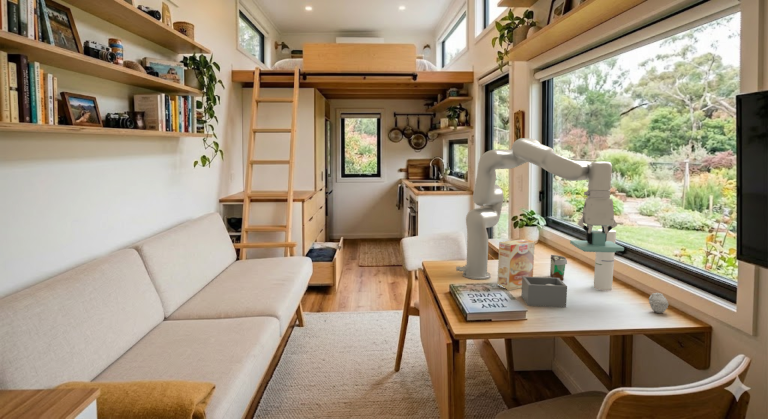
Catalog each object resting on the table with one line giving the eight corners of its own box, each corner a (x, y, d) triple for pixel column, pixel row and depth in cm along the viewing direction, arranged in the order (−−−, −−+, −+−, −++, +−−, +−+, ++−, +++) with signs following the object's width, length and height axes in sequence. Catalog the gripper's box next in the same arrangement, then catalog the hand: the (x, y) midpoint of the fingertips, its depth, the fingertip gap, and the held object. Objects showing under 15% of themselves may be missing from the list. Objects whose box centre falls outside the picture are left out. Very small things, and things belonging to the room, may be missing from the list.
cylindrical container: (610, 291, 193) (615, 232, 190) (592, 288, 197) (596, 230, 194) (612, 287, 199) (617, 230, 196) (594, 284, 203) (598, 228, 200)
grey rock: (659, 309, 172) (661, 290, 171) (672, 315, 165) (673, 296, 164) (643, 309, 172) (645, 290, 171) (655, 315, 165) (657, 296, 164)
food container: (568, 283, 204) (569, 261, 203) (553, 282, 206) (555, 260, 204) (563, 276, 216) (564, 255, 215) (549, 275, 218) (550, 254, 216)
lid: (580, 252, 169) (581, 234, 168) (570, 245, 181) (570, 228, 181) (623, 253, 167) (624, 235, 166) (609, 246, 180) (610, 229, 179)
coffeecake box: (509, 290, 192) (511, 244, 190) (496, 286, 198) (498, 241, 196) (533, 285, 200) (535, 241, 198) (520, 281, 206) (522, 238, 204)
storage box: (527, 305, 174) (528, 284, 173) (521, 295, 186) (522, 276, 185) (566, 307, 172) (567, 286, 171) (557, 297, 184) (558, 277, 183)
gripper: (578, 195, 169) (576, 244, 171) (626, 195, 167) (623, 245, 170) (572, 193, 177) (570, 241, 179) (618, 194, 175) (615, 242, 177)
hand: (596, 242), depth 174 cm, fingers closed on lid, 4 cm apart
